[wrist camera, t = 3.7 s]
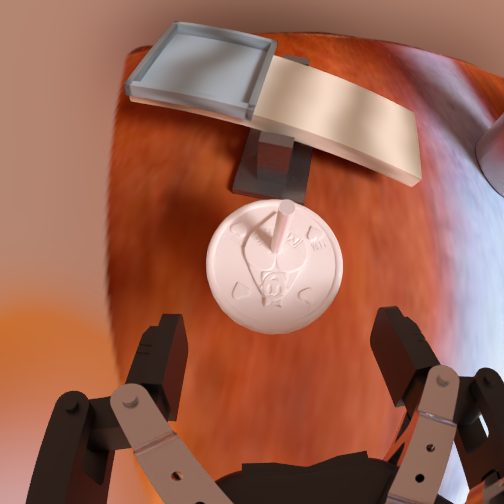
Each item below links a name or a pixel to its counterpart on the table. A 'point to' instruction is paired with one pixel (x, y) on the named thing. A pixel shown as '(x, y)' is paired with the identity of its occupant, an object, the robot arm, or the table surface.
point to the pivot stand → (274, 164)
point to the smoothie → (274, 266)
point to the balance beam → (275, 97)
